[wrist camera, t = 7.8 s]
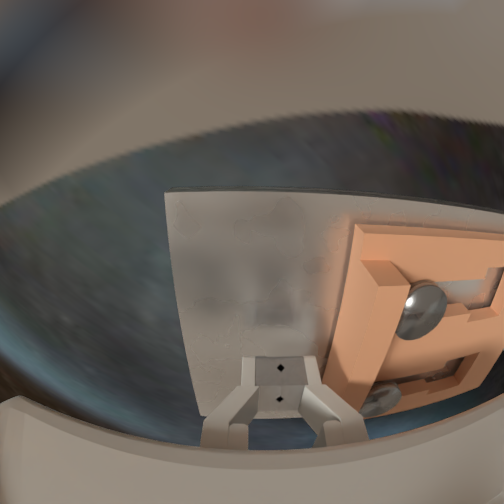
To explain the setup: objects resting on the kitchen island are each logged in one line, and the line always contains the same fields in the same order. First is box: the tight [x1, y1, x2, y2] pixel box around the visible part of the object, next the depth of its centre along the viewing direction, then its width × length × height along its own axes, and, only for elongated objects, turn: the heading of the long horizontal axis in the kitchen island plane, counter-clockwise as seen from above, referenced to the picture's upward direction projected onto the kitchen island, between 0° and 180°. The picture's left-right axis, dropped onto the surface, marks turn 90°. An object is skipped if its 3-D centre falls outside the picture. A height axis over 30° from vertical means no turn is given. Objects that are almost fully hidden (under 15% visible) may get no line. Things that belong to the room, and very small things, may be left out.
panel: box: [322, 224, 504, 419], centre depth 11 cm, size 12×14×3 cm
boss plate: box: [164, 186, 504, 419], centre depth 12 cm, size 14×22×3 cm, turn 90°
